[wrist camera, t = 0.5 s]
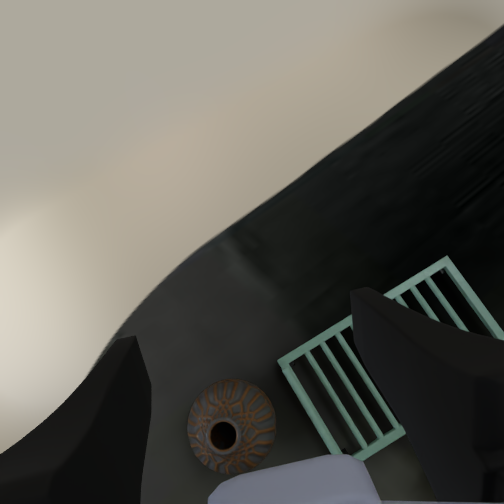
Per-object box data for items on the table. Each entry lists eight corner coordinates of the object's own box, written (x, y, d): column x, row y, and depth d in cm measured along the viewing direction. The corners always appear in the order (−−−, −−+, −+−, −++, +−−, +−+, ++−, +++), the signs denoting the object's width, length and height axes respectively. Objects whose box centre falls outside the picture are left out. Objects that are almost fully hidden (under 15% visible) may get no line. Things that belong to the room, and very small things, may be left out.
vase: (244, 360, 40) (232, 361, 32) (294, 426, 39) (295, 447, 30) (182, 410, 40) (152, 425, 31) (229, 479, 38) (212, 515, 30)
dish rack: (511, 358, 38) (554, 359, 32) (340, 467, 38) (351, 489, 31) (439, 260, 41) (466, 243, 34) (277, 360, 40) (275, 361, 34)
